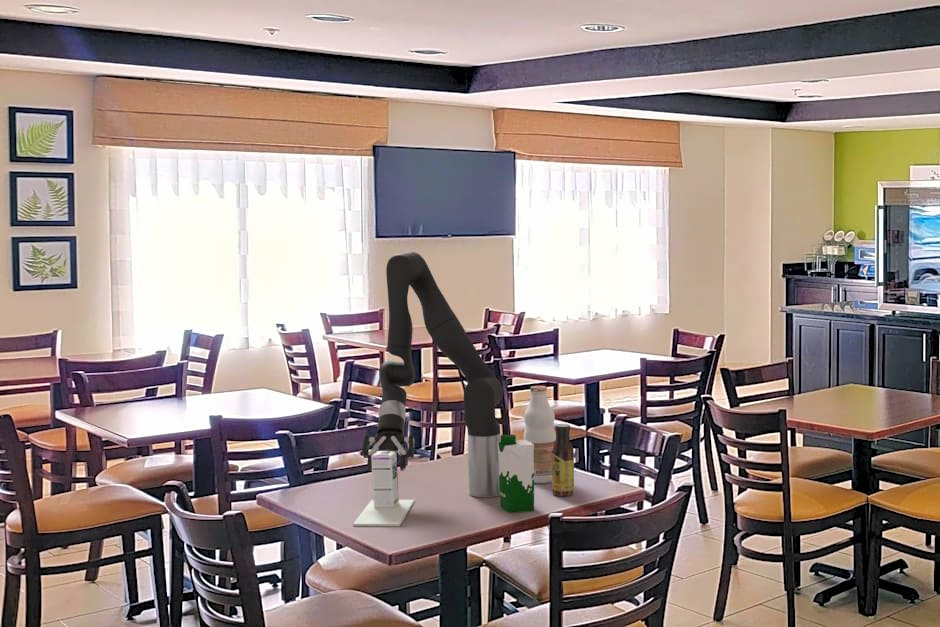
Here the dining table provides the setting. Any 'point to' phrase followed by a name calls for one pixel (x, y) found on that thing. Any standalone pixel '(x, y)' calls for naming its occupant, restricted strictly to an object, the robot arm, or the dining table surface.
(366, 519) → the mat
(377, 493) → the syrup box
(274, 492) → the dining table surface
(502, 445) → the milk carton
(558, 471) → the sauce bottle
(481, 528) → the dining table surface
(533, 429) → the fruit juice
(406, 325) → the robot arm
